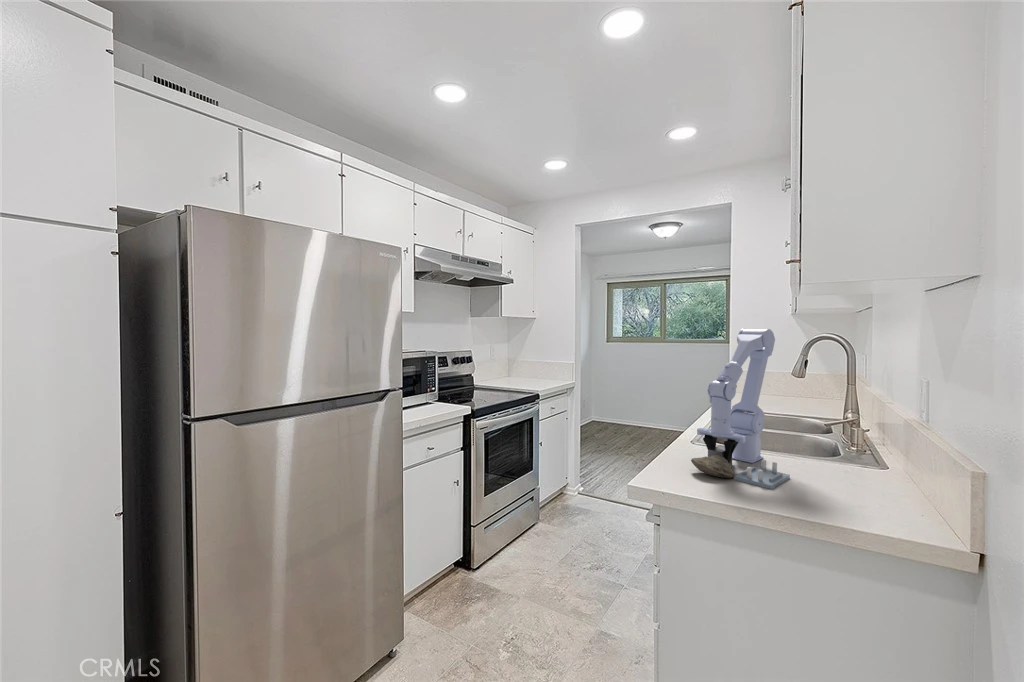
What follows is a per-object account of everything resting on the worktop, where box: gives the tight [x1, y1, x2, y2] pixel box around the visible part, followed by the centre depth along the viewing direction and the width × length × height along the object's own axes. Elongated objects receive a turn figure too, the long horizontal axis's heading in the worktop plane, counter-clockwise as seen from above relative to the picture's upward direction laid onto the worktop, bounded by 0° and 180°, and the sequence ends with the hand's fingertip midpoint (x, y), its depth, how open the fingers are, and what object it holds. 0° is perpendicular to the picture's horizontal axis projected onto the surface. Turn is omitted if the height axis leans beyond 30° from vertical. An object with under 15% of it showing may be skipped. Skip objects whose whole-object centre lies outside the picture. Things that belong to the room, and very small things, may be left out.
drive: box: [707, 444, 733, 466], centre depth 141 cm, size 8×4×6 cm, turn 131°
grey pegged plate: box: [733, 459, 791, 490], centre depth 129 cm, size 14×10×4 cm
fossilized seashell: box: [690, 455, 735, 479], centre depth 133 cm, size 11×11×7 cm
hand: (720, 460), depth 141 cm, fingers closed on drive, 4 cm apart
